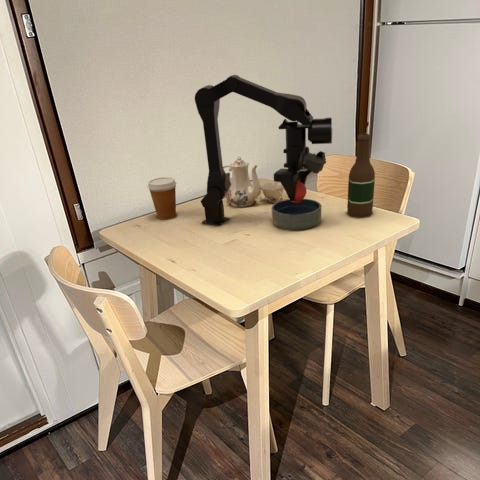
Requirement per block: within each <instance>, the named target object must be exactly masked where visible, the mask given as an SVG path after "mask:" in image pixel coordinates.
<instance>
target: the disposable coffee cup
mask: <svg viewBox="0 0 480 480" xmlns="http://www.w3.org/2000/svg"><path fill="white" fill-rule="evenodd" d="M176 187H177V182H176V180H175V178H173V177H168V176H167V177H166V176H165V177H163V176H162V177H157V178H156V177H155V178H153V179H150V180H148V182H147V188H148V190H149V193H150V196H151V200H152V203H153V206H154V209H155V213H156V216H157V219H159V220H170V219H173V218H175V217H176V216H177V202H176V201H177V200H176V198H177V197H176Z"/></svg>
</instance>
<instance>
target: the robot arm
mask: <svg viewBox="0 0 480 480" xmlns="http://www.w3.org/2000/svg"><path fill="white" fill-rule="evenodd" d="M232 93H235V94H237V95H240V96H242V97H245V98H247V99H250V100H252V101H254V102H257V103H259V104H262V105H264V106H267V107H269V108H271V109H272V110H274V111H275V112H276V113H278V114H279V115H280V116H282V117H283V118H284V119H283V120H282V122H281V123H280V124H279V126H278V130H285V148H283V150H282V151H283V154H285V163H283V168H279V169H278V170H276V171H275V172H274V173H273V182H274V183H277V182H279V183H281V184H282V186H283V187H284V189H283V190H284V191H285V193H286V196H287V195H288V196H287V198H288V197H289V198H288V199H290V200H291V201H294V199H295V191H296V184H297V183H298V182H299V181H300V182H302V183H303V184H304V185H305V186H306V184H307V183H306V182H307V179H308V177H309V175H310V174H312V173H314V174H319V173H320V172H322V171H323V168H324V166H325V164H327V158H326V152H324V151H322V150H320V151H318V152H317V153H311V152H310V148H309V146H307V141H308V142H309V143H311V145H325V144H326V145H327V144H329V145H330V144H331V145H332V143H333V118H332V117H325V118H314V117H313V115H312V113H311V112H310V111H309V110H308V107H307V102H306V100H305V98H304V97H302V96H301V95H297V94H291V93H285V92H277V91H275V90H273V89H270V88H268V87H265V86H263V85H261V84H258V83H255V82H252V81H250V80H247V79H246V78H243V77H241V76H239V75H238V74H231V75H230V76H228V77H227V78H226V79H225V80H223V81H221V82H219V83H217V84H215V85H212V84H208V85H205V86H203V87H201V88H199V89H198V90H197V91H196V92H195V94H194V103H195V106H196V109H197V113H198V115H199V117H200V119H201V121H202V126H203V134H204V143H205V151H206V158H207V159H206V160H207V165H208V166H207V167H208V175H207V180H206V194H205V195H204V196H203V197H202V198H201V200H200V203H201V206H202V208H204V217H205V219H204V220H202V221H201V223H202V224H204V225H212V226H220V225H222V224H224V223H225V222H226V221H228V220H229V216H226V215H225V207H224V206H225V205H224V198H225V197H226V196H227V192H228V191H229V187H230V186H231V183H230V178H231V173H230V172H226V171H225V168H224V169H223V167H224V166H223V165H224V164H223V157H222V147H221V139H220V138H221V137H220V130H219V128H220V127H219V119H218V118H219V112H220V105H221V104H220V103H221V99H222V98H224V97H226V96H228V95H230V94H232Z"/></svg>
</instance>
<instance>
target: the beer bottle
mask: <svg viewBox="0 0 480 480" xmlns="http://www.w3.org/2000/svg"><path fill="white" fill-rule="evenodd" d="M370 139H371V134H370V133H365V132H364V133H360V134H358V135H357V148H356V149H357V150H356V156H355V162H354V164H353V165H352V166H351V168H350V171H349V173H348V180H347V181H348V183H347V204H346V205H347V207H346V208H347V209H346V210H347V211H346V212H347V214H348V215H349V216H350V217H353V218H367V217H369V216H370V215H372V213H373V207H374V198H375V197H374V195H375V194H374V193H375V181H376V172H375V169H374V167H373V165H372V163H371V158H370Z"/></svg>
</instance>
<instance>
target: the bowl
mask: <svg viewBox="0 0 480 480" xmlns="http://www.w3.org/2000/svg"><path fill="white" fill-rule="evenodd" d="M322 207H323V206H322V204H321V202H319V201H317V200H315V199H310V198H303V199H302V201H301V202H298V203H294V202H292V201H291V200H290V199H289V198H288V199H287V198H286V199H282V200H278V202H275V203H273V204H272V206H271V208H270V211H271V213H270V214H271V222H272V224H273V225H274V226H275V227H277V228H278V229H282V230H288V231H300V230H301V231H302V230H308V229H311V228H314V227H316V226H317V225H319V223H320V222H321V221H322Z"/></svg>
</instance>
